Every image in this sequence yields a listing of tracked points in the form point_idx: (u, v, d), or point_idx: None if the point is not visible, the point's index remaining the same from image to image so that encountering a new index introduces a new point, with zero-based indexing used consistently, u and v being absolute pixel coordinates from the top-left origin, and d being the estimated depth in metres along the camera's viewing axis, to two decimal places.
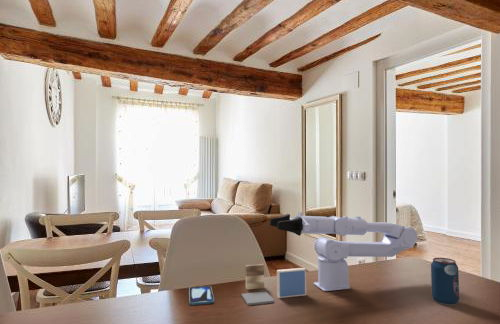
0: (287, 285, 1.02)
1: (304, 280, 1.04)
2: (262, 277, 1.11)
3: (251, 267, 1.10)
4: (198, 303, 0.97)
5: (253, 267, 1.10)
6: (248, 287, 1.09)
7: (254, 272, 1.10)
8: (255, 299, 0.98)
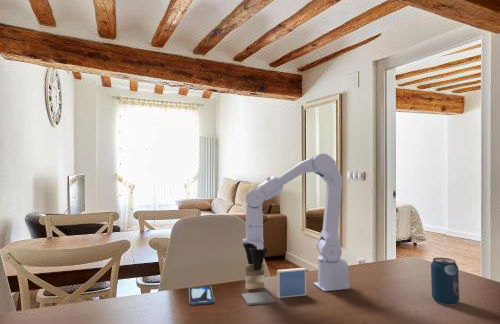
0: (287, 285, 1.02)
1: (304, 280, 1.04)
2: (262, 277, 1.11)
3: (251, 267, 1.10)
4: (198, 303, 0.97)
5: (253, 267, 1.10)
6: (248, 287, 1.09)
7: (254, 272, 1.10)
8: (255, 299, 0.98)
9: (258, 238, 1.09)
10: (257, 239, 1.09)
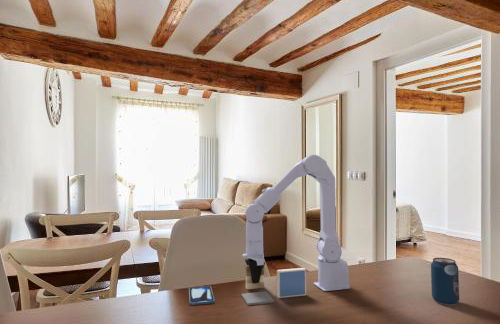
0: (287, 285, 1.02)
1: (304, 280, 1.04)
2: (262, 277, 1.11)
3: None
4: (198, 303, 0.97)
5: None
6: (248, 287, 1.09)
7: None
8: (255, 299, 0.98)
9: (258, 253, 1.09)
10: (257, 254, 1.09)
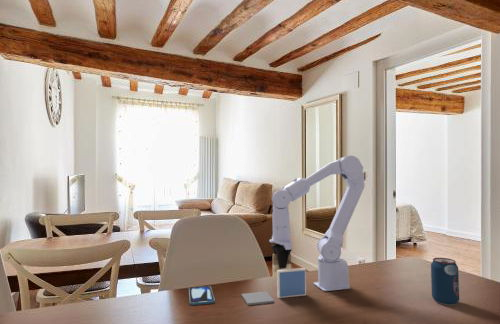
0: (287, 285, 1.02)
1: (304, 280, 1.04)
2: (289, 266, 1.12)
3: None
4: (199, 303, 0.97)
5: None
6: (275, 275, 1.11)
7: None
8: (255, 299, 0.98)
9: (286, 238, 1.10)
10: (284, 239, 1.10)
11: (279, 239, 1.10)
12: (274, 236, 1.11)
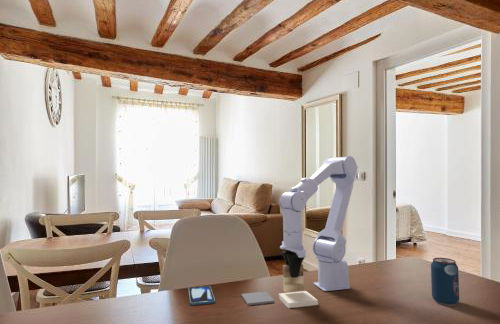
0: None
1: None
2: (301, 278, 1.02)
3: (289, 267, 1.01)
4: (199, 303, 0.97)
5: None
6: (286, 289, 1.01)
7: None
8: (255, 299, 0.98)
9: (298, 245, 1.00)
10: (297, 246, 1.00)
11: (291, 245, 1.00)
12: (285, 242, 1.01)
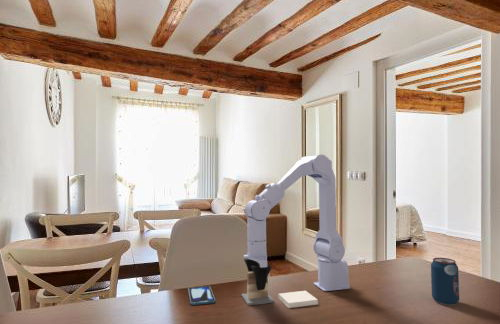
0: None
1: None
2: None
3: (253, 274, 1.00)
4: (199, 303, 0.97)
5: None
6: (250, 296, 0.99)
7: None
8: (255, 299, 0.98)
9: (261, 254, 0.99)
10: (260, 255, 0.99)
11: (254, 255, 0.98)
12: (249, 251, 1.00)
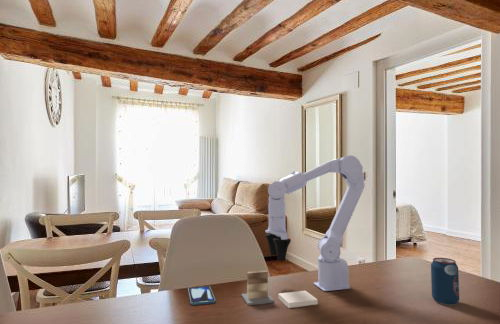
0: None
1: None
2: (265, 285, 1.01)
3: (253, 274, 1.00)
4: (200, 303, 0.97)
5: (256, 274, 1.00)
6: (250, 296, 0.99)
7: (257, 280, 1.00)
8: (255, 299, 0.98)
9: (281, 229, 1.11)
10: (280, 230, 1.11)
11: (275, 229, 1.11)
12: (270, 227, 1.12)
